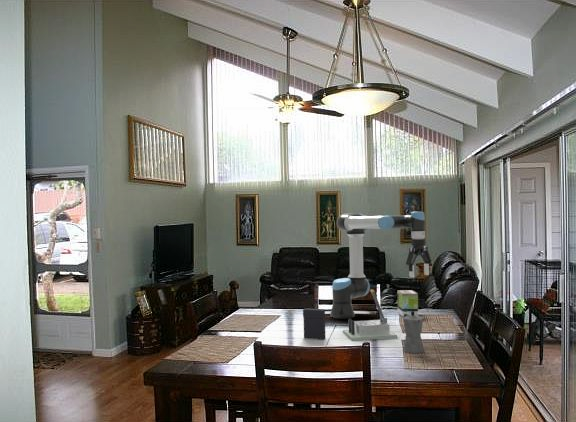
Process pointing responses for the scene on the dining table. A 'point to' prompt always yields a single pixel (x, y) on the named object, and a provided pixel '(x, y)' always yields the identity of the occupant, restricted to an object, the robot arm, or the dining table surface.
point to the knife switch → (369, 327)
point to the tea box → (407, 302)
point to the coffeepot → (413, 333)
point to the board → (369, 336)
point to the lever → (377, 304)
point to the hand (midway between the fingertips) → (419, 276)
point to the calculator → (314, 323)
